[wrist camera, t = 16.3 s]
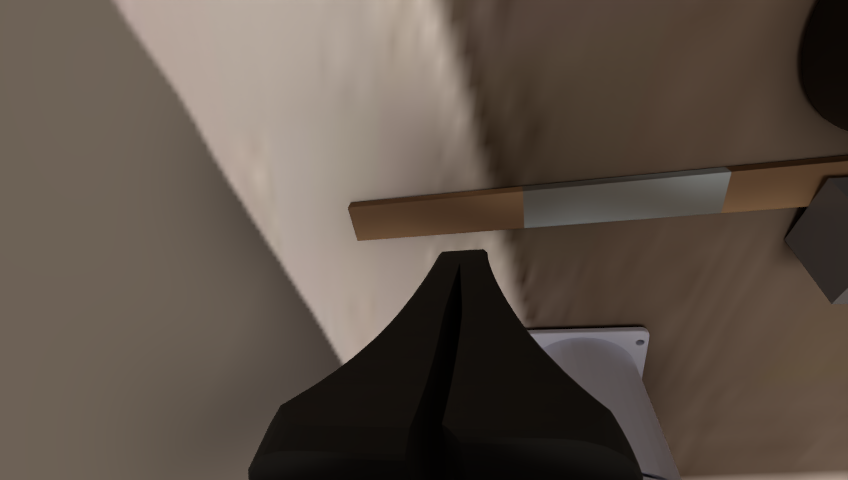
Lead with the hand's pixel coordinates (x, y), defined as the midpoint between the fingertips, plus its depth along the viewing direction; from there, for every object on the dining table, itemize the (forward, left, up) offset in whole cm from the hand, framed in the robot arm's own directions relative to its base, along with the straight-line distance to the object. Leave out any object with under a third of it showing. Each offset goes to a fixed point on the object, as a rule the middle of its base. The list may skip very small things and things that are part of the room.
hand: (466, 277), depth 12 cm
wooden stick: (-3, -7, -10) cm, 13 cm away
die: (-5, -18, -10) cm, 21 cm away
